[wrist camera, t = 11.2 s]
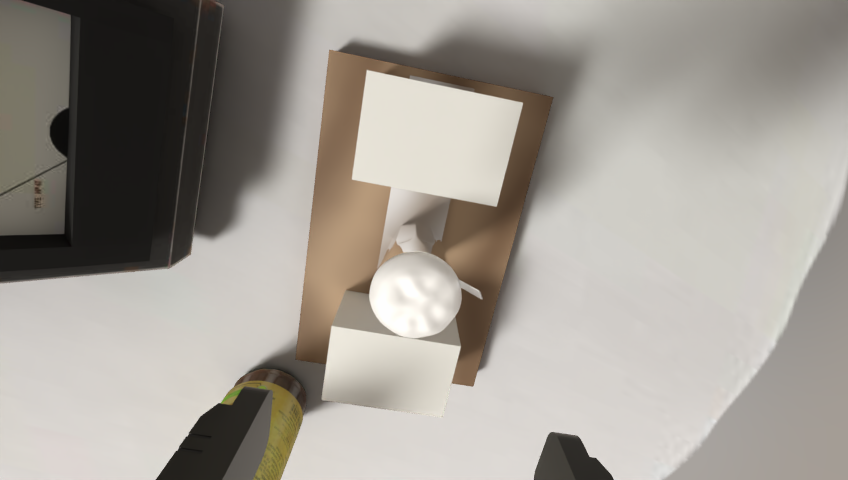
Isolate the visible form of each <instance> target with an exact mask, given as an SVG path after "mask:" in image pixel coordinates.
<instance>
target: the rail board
mask: <svg viewBox="0 0 848 480" xmlns="http://www.w3.org/2000/svg"><path fill="white" fill-rule="evenodd" d="M367 70H369V71H374V72H379V73H383V74H388V75H393V76H398V77H402V78H407V79H412V80H417V81H422V82H426V83H431V84H436V85H441V86H445V87H450V88H455V89H460V90H465V91H469V92H474V93H479V94H484V95H488V96H493V97H498V98H503V99H508V100H512V101H517V102H522V103H523V106H522V110H521V114H520V118H519V122H518V126H517V129H516V133H515V137H514V141H513V145H512V149H511V153H510V157H509V161H508V165H507V168H506V172H505V176H504V180H503V184H502V188H501V192H500V196H499V200H498V204H497V207H495V206H490V205H485V204H479V203H474V202H469V201H463V200H458V199H453V198H447V197H442V196H437V195H431V194H426V193H421V192H415V191H410V190H405V189H399V188H394V187H389V186H383V185H378V184H373V183H367V182H362V181H357V180H352V174H353V167H354V159H355V152H356V145H357V138H358V130H359V123H360V116H361V109H362V101H363V94H364V87H365V80H366V72H367ZM552 100H553V97H550V96H546V95H541V94H536V93H532V92H527V91H522V90H517V89H513V88H508V87H503V86H498V85H494V84H489V83H484V82H480V81H475V80H470V79H465V78H461V77H456V76H451V75H446V74H442V73H437V72H432V71H428V70H423V69H418V68H413V67H409V66H404V65H399V64H395V63H390V62H385V61H380V60H376V59H371V58H366V57H361V56H357V55H352V54H347V53H343V52H338V51H333V50H329V58H328V67H327V76H326V85H325V94H324V104H323V113H322V122H321V131H320V140H319V149H318V158H317V168H316V177H315V186H314V195H313V204H312V213H311V222H310V232H309V241H308V250H307V259H306V268H305V277H304V286H303V296H302V305H301V314H300V323H299V332H298V341H297V350H296V359H295V360H301V361H308V362H314V363H321V364H326V362H327V355H328V348H329V341H330V333H331V326H332V323H333V321H334V318H335V316H336V313H337V311H338V308H339V306H340V303H341V301H342V298H343V295H344V293H345V290H348V291H354V292H360V293H366V294H369V291H370V286H371V282H372V279H373V277H374V275H375V273H376V271H377V269H378V268H379V266H380V264H381V262H382V260H383V258H384V256H385V253H386V251H387V249H388V247H389V244H390V242H391V240H392V238H393V236H394V235H395V234H396V232H397V231H398V230H399V228H400V227H401V226H402V225H405V224H408V223H411V222H414V221H417V222H420V223H424V224H427V225H430V226H431V227H432V229H433V230H434V231H435V233H436V234H437V235H438V237H439V238H440V241H441V243H442V245H443V248H444V250H445V252H446V255H447V257H448V260H449V262H450V264H451V266H452V267H453V269H454V271H455V273H456V275H457V277H458V279H459V280H461V281H463V282H465V283H467V284H468V285H470V286H472V287H474V288H476V289H478V290H479V291H480V292H481V295H482V298H483V299H480V298H478V297H476V296H475V295H473V294H471V293H469V292H468V291H466V290H464V289H462V288H461V293H462V299H461V305H460V309H459V311H458V313H457V314H456V316H455V318H456V323H457V328H458V334H459V339H460V344H461V348H460V352H459V356H458V360H457V364H456V368H455V372H454V376H453V379H452V383H453V384H460V385H466V386H474V382H475V378H476V375H477V371H478V367H479V364H480V360H481V357H482V353H483V349H484V346H485V342H486V339H487V335H488V331H489V328H490V324H491V321H492V317H493V313H494V310H495V306H496V302H497V299H498V295H499V292H500V288H501V284H502V281H503V277H504V274H505V270H506V266H507V263H508V259H509V256H510V252H511V248H512V245H513V241H514V237H515V234H516V230H517V227H518V223H519V219H520V216H521V212H522V209H523V205H524V201H525V198H526V194H527V191H528V187H529V183H530V180H531V176H532V172H533V169H534V165H535V162H536V158H537V154H538V151H539V147H540V144H541V140H542V136H543V133H544V129H545V126H546V122H547V118H548V115H549V111H550V107H551V104H552Z"/></svg>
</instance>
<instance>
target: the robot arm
mask: <svg viewBox="0 0 848 480" xmlns="http://www.w3.org/2000/svg"><path fill="white" fill-rule="evenodd" d="M272 400H273V391H272V390H268V389H261V388H254V387H247V386H245V387H243V388H242V390H241V391H240V393H239V394H238V396H237V398H236V399H235V401H234V402H233V404H232V405H227V404H220V403H218V404H217V405H216V406H214V407H213V408H212V409H210V410H209V411H207V412H206V413H205V414H203V415H202V416H201V417H200V418H199V420H198V421H197V422H196V424H195V425H194V427H193V428H192V429H191V431H190V432H189V435H188V437H186V438H185V439H184V441H183V442H182V444H181V445H180V446H179V449H178V451H176V452H175V453H174V455H173V456H172V458H171V459H170V460H169V462H168V463H167V465H166V466H165V468H164V469H163V470H162V472H161V473H160V475H159V476H158V477H157V479H156V480H253V479H254V477H255V474H256V472H257V470H258V468H259V465H260V463H261V461H262V459H263V456H264V453H265V451H266V447H267V444H268V439H269V434H270V423H271V412H272ZM534 480H614V479H613V477H612V475H611V474H610V473H609V472H608V471H607V470H606V469H605V467H604V466H603V465H602V464H601V463H600V462H599V461H598V460H597V459H596V458H592V457H589V455H588V453H587V451H586V449H585V447H584V445H583V443H582V441H581V439H580V438H579V437H578V436H576V435H569V434H562V433H555V432H551V433H550V434H549V435H548V437H547V440H546V442H545V445H544V448H543V451H542V453H541V456H540V459H539V462H538V465H537V467H536V470H535V475H534Z"/></svg>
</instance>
